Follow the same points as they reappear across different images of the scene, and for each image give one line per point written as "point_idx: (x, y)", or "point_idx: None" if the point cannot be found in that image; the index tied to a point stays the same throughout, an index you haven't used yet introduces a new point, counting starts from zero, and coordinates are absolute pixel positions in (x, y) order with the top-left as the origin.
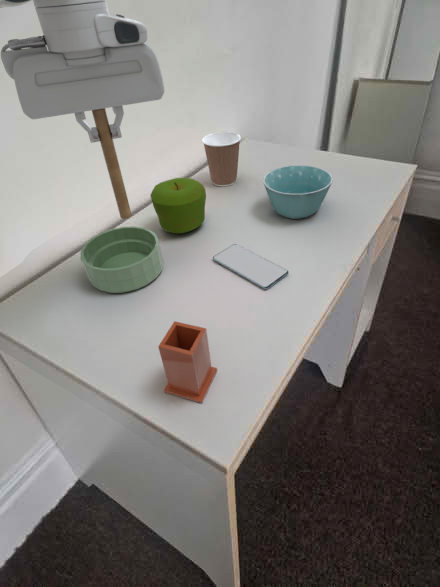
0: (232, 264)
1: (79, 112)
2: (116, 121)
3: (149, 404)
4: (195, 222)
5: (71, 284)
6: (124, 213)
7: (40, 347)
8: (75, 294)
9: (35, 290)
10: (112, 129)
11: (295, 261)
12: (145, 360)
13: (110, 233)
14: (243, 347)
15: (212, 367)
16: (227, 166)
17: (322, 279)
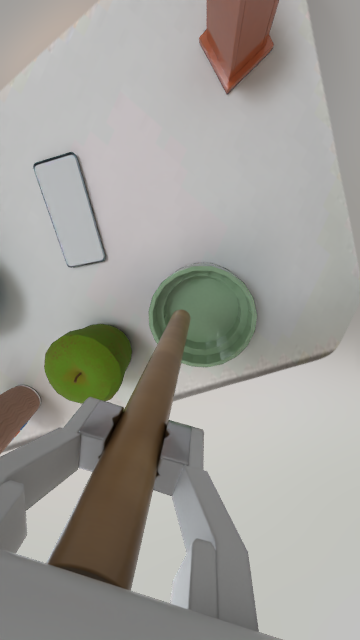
0: (89, 229)
1: (222, 619)
2: (55, 452)
3: (297, 40)
4: (91, 326)
5: (265, 327)
6: (184, 313)
7: (347, 240)
8: (270, 306)
9: (302, 343)
10: (100, 430)
11: (17, 186)
12: (261, 128)
13: (196, 361)
14: (151, 63)
15: (203, 42)
16: (2, 401)
17: (3, 125)
